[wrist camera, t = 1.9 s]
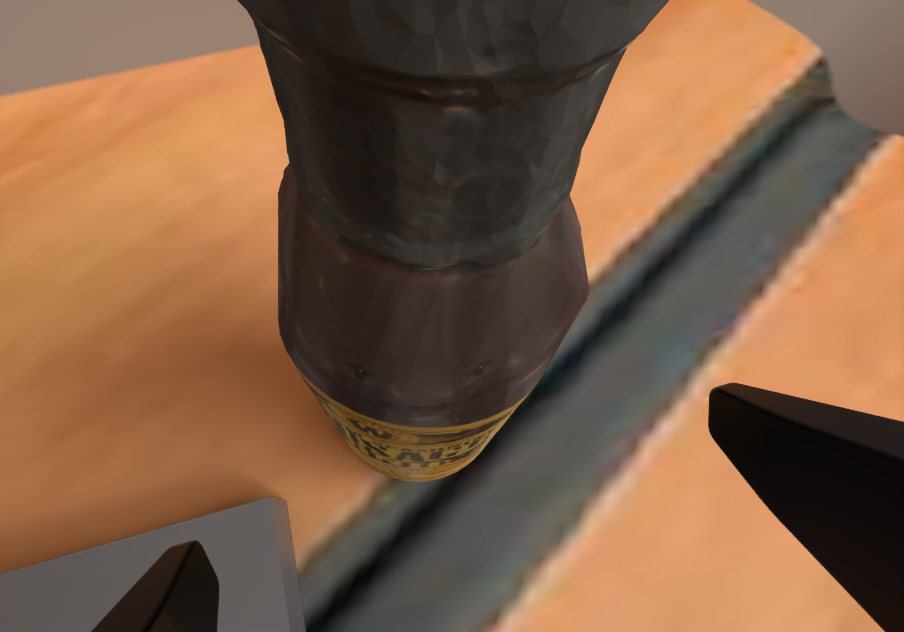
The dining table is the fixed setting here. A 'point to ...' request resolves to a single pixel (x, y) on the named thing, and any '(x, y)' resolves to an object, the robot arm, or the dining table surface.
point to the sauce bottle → (433, 206)
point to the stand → (126, 560)
